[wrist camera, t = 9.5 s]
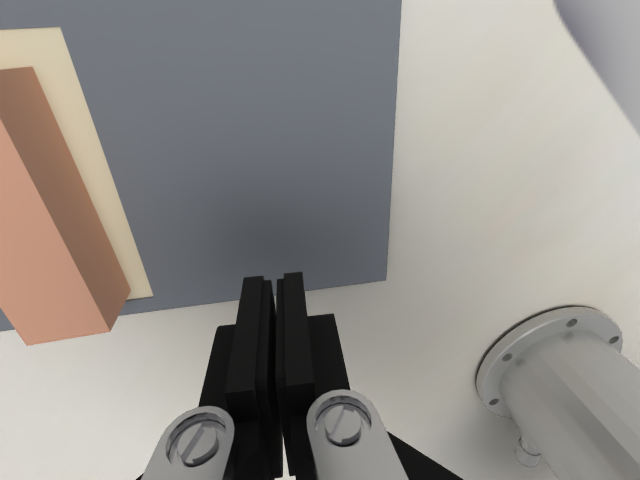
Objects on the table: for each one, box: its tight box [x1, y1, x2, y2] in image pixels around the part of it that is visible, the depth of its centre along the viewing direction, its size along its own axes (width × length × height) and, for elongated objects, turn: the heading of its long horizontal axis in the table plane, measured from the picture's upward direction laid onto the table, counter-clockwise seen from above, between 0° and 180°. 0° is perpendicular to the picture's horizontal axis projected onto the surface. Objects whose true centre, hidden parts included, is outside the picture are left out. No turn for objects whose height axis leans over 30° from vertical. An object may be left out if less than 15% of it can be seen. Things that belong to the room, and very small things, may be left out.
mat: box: [0, 0, 402, 331], centre depth 18 cm, size 16×30×1 cm, turn 94°
